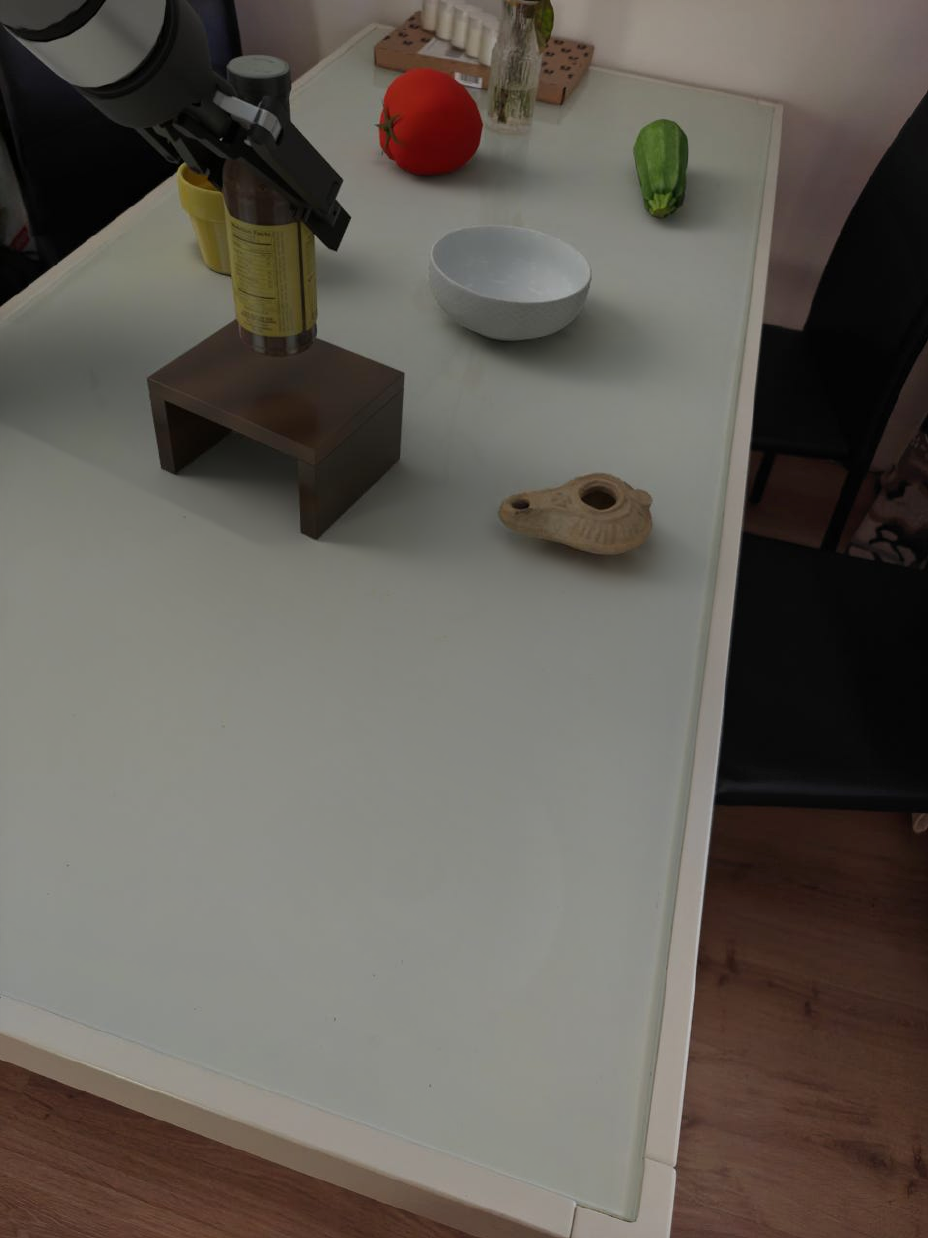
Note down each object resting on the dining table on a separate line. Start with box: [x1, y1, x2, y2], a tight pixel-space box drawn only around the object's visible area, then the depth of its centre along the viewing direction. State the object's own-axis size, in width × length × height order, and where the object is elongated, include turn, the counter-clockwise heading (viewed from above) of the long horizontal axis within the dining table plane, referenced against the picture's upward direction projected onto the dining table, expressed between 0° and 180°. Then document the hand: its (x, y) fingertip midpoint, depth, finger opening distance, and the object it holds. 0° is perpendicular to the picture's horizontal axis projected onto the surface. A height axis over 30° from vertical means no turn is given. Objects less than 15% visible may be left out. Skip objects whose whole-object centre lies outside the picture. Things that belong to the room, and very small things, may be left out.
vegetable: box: [632, 118, 689, 219], centre depth 130 cm, size 7×7×20 cm
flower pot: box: [176, 161, 231, 276], centre depth 107 cm, size 10×10×10 cm
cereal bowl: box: [428, 224, 593, 342], centre depth 104 cm, size 17×17×7 cm
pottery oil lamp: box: [497, 472, 654, 555], centre depth 81 cm, size 9×12×7 cm
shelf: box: [146, 318, 406, 541], centre depth 83 cm, size 16×13×9 cm
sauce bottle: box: [222, 54, 319, 358], centre depth 70 cm, size 6×6×20 cm
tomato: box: [374, 67, 484, 176], centre depth 128 cm, size 13×13×13 cm
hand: (300, 218), depth 74 cm, fingers closed on sauce bottle, 6 cm apart
